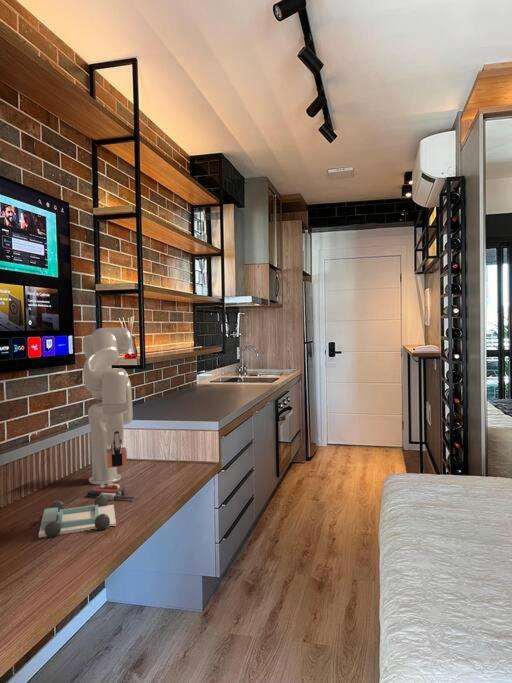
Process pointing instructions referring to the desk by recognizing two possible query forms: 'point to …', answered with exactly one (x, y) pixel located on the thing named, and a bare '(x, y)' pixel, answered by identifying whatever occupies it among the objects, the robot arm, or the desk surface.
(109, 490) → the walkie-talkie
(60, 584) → the desk surface
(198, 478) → the desk surface
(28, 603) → the desk surface
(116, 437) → the robot arm
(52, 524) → the chassis
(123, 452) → the orange-brown block
